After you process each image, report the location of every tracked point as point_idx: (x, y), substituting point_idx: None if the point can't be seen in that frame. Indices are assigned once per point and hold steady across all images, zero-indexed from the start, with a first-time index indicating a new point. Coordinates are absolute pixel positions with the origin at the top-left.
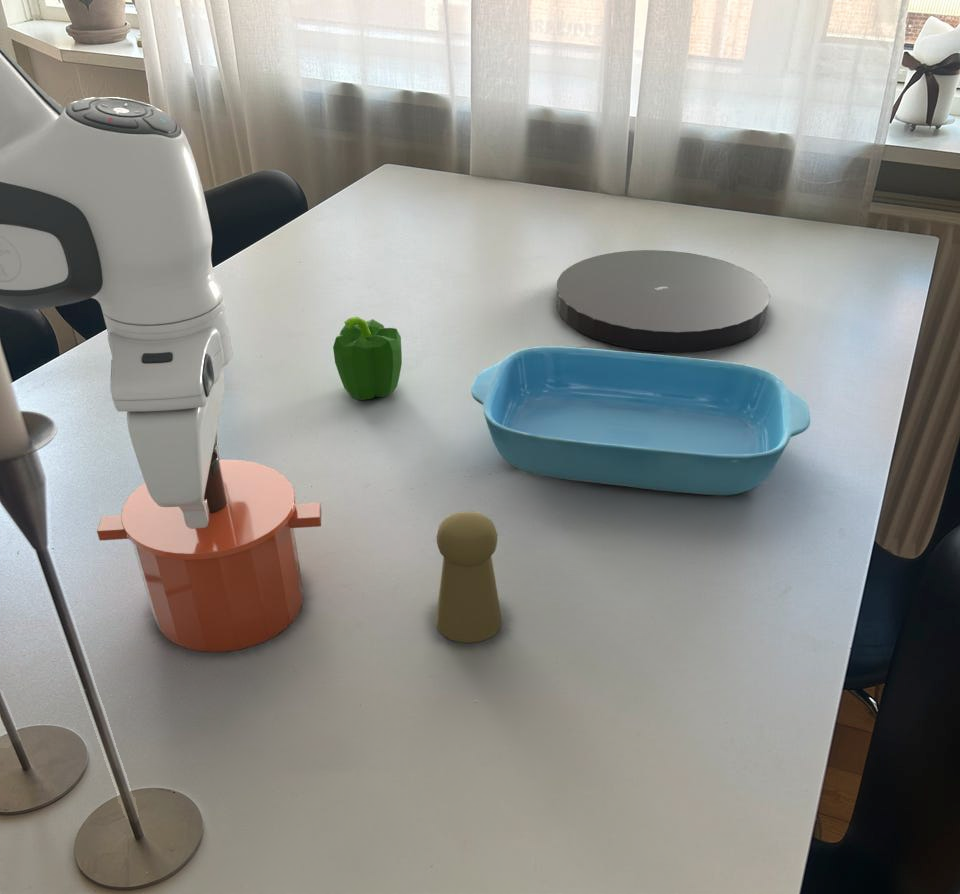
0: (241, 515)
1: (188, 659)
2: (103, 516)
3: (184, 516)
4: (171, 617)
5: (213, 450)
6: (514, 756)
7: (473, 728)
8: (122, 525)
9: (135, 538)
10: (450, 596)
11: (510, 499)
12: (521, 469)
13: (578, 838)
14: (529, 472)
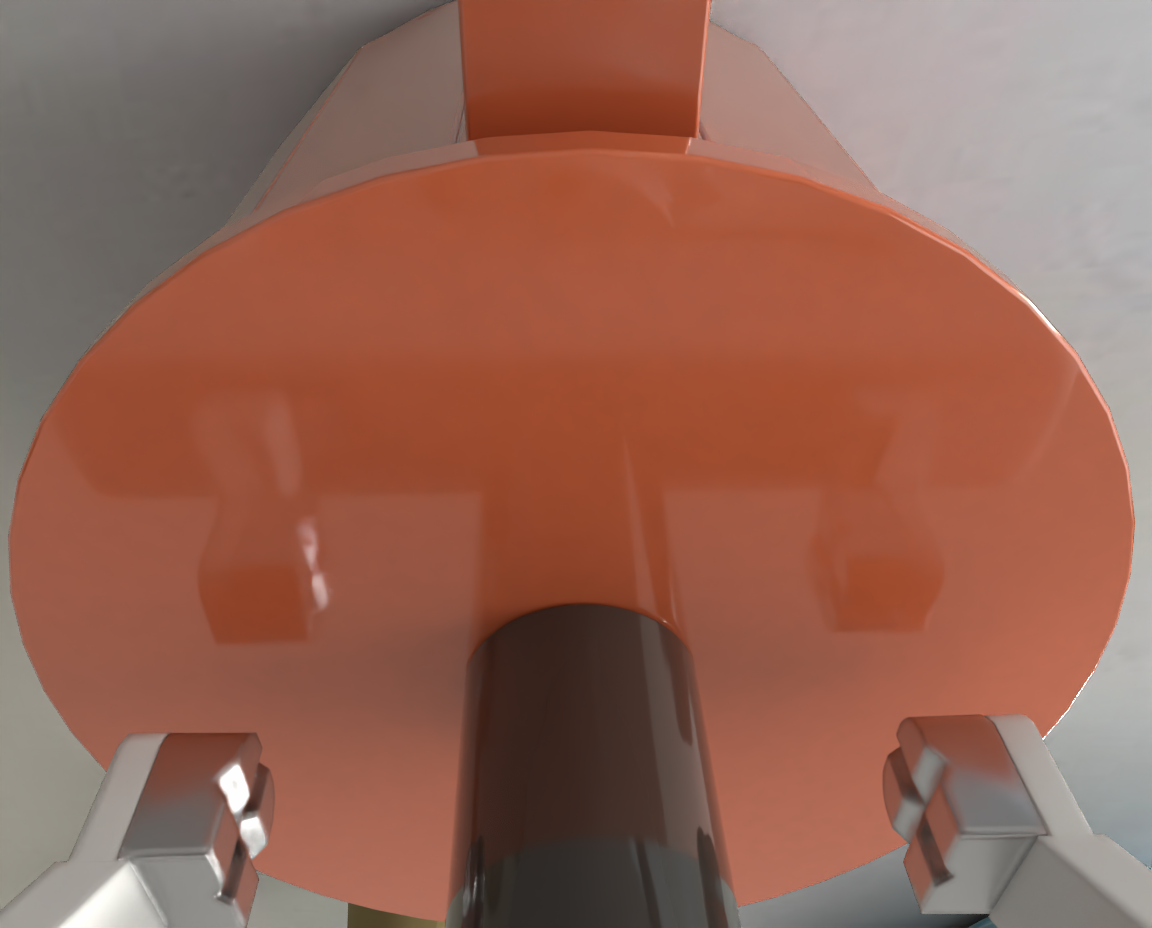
0: (440, 803)
1: (215, 178)
2: None
3: (93, 810)
4: (246, 194)
5: (926, 894)
6: (5, 855)
7: (68, 812)
8: (528, 87)
9: (130, 333)
10: (361, 913)
11: (895, 884)
12: (986, 925)
13: None
14: (978, 923)
